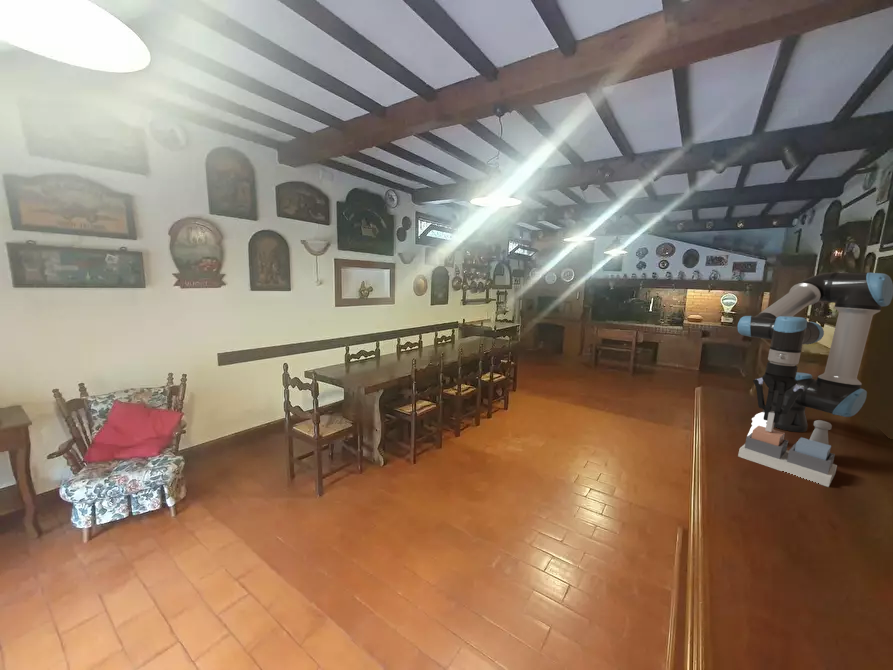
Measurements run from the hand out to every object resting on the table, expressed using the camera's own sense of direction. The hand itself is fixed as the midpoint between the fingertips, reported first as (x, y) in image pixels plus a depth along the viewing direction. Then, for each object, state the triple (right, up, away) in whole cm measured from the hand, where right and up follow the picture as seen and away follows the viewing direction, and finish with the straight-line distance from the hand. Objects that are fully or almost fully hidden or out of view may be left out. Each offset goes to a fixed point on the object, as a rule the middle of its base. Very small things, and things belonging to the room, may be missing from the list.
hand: (769, 430), depth 124 cm
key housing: (+3, -11, -3) cm, 12 cm away
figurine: (+8, -8, +14) cm, 18 cm away
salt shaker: (+20, -10, +4) cm, 23 cm away
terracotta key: (0, -5, +1) cm, 5 cm away
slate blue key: (+6, -7, -8) cm, 12 cm away
